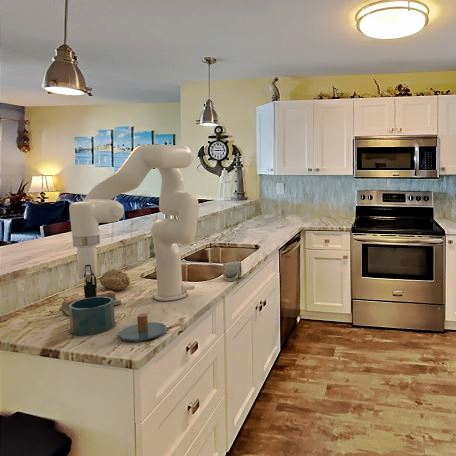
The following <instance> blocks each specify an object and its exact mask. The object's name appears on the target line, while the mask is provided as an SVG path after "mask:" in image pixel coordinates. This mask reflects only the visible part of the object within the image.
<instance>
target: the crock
mask: <svg viewBox="0 0 456 456" xmlns="http://www.w3.org/2000/svg"><path fill="white" fill-rule="evenodd" d="M68 317H69V326H70V333H71V334H73V335H74V336H75V335H76V336H91V335H97V334H102V333H105V332H107V331H110V330H112V329H113V328H115V326H116V319H115V318H116V317H115V305H114V303H113V298H110V297H92V298H85V299H80V300H77V301H74V302H72V303H71V304H69V315H68Z"/></svg>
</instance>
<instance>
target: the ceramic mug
mask: <svg viewBox="0 0 456 456" xmlns="http://www.w3.org/2000/svg"><path fill="white" fill-rule="evenodd" d="M242 273H243V271H242V262H241V261H230V262H224V263H223V264H222V275H223V277H224V280H226V281H227V282H234V281H236V280H237V279H241V278H242Z"/></svg>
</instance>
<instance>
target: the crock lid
mask: <svg viewBox="0 0 456 456" xmlns="http://www.w3.org/2000/svg"><path fill="white" fill-rule="evenodd" d="M166 332H167V325H165V324H164V323H161V322H150V321H149V315H148V313H139V314H137V315H136V324H135V323H134V324H132V325H129V326H127V327H125V328H123V329H121V330H120V331H119V334H118V336H119V338H120V339H121V340H122V341H127V342H141V341H148V340H152V339H155V338H158V337H160V336H163V335H164V334H165V333H166Z"/></svg>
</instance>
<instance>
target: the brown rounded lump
mask: <svg viewBox="0 0 456 456" xmlns="http://www.w3.org/2000/svg"><path fill="white" fill-rule="evenodd" d="M99 283H100V285H101V286H102V287H104V288H106V289H111V290H124V289H126V288H128V287H129V286H130V284H131V280H130V277H129V276H128V273H127V272H126V271H124V270H120V269H109V270H107V271H105V272H104V273H103V274H102V275H101V276H100V278H99Z"/></svg>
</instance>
